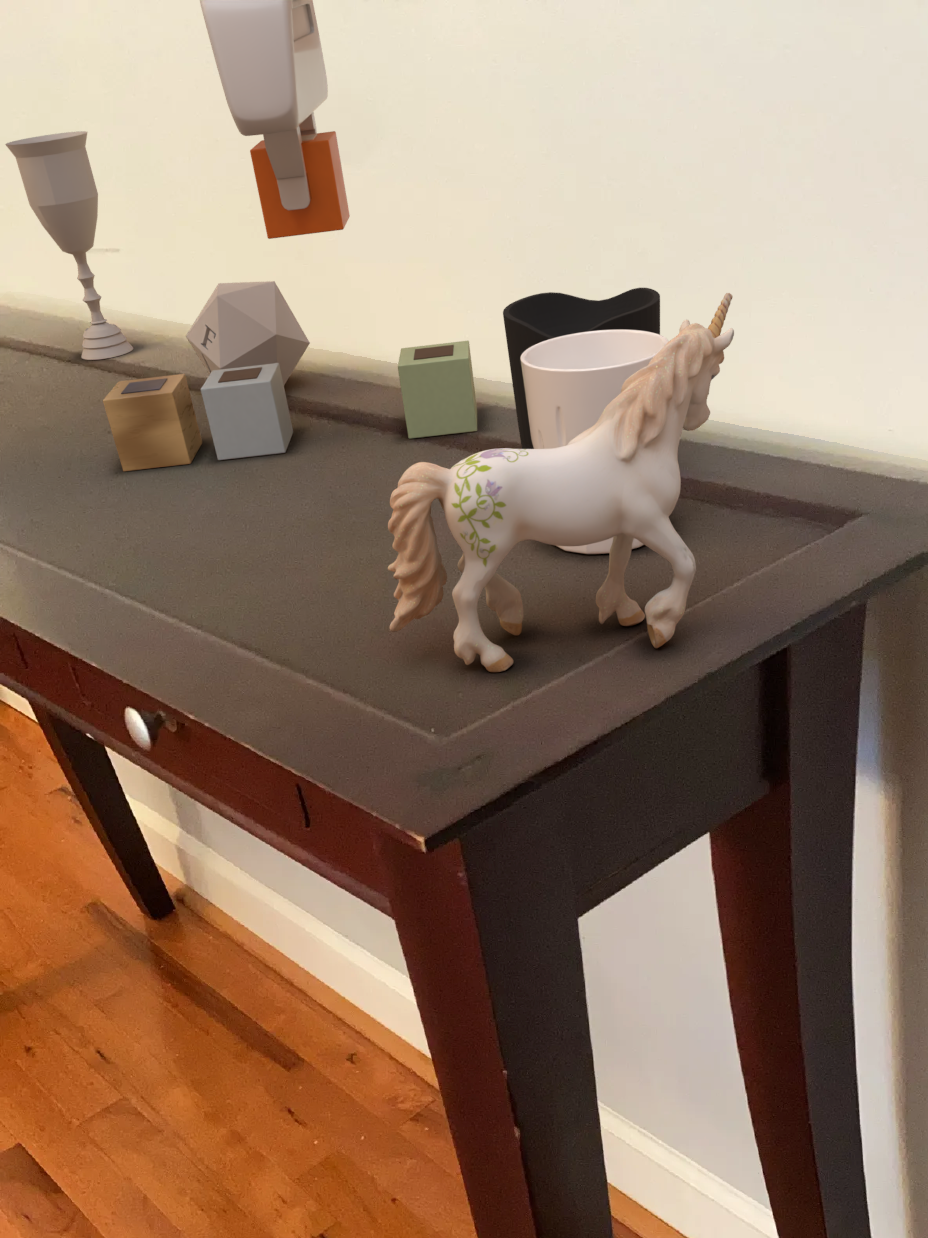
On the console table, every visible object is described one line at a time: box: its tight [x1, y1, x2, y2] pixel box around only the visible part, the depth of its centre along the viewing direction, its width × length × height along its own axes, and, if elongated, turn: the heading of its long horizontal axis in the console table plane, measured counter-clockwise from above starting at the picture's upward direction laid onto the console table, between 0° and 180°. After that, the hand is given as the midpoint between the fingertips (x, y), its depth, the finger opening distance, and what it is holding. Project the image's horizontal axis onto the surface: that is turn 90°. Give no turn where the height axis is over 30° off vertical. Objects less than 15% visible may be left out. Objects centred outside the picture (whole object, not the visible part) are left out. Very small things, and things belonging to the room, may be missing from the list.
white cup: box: [520, 330, 670, 555], centre depth 70 cm, size 8×8×10 cm
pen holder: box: [502, 287, 661, 449], centre depth 79 cm, size 9×9×10 cm
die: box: [185, 280, 311, 386], centre depth 104 cm, size 8×9×10 cm
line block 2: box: [200, 363, 294, 461], centre depth 92 cm, size 5×5×5 cm
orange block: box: [249, 130, 351, 240], centre depth 83 cm, size 5×5×5 cm
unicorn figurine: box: [387, 292, 735, 673], centre depth 59 cm, size 7×20×13 cm, turn 114°
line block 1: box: [102, 373, 203, 472], centre depth 93 cm, size 5×5×5 cm
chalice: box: [4, 130, 134, 361], centre depth 119 cm, size 7×7×18 cm
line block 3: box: [397, 340, 478, 440], centre depth 92 cm, size 5×5×5 cm
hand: (303, 200), depth 83 cm, fingers closed on orange block, 5 cm apart
